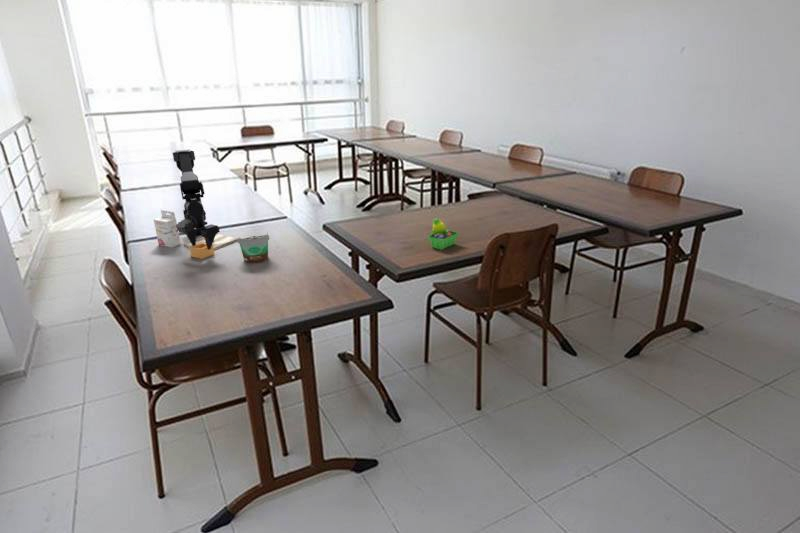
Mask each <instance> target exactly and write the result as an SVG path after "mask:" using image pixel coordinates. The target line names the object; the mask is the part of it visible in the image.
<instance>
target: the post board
mask: <svg viewBox="0 0 800 533" xmlns="http://www.w3.org/2000/svg"><path fill="white" fill-rule="evenodd" d="M202 242H203V243H206V241H205V238H204V237H202V236H201V237H198V238H196V245H197V244H200V243H202ZM236 242H238V237H234V236H233V237H232V236H227V235H224V234H219V233H218V234H216V236H215V238H214V240H213V243H212V245H213V248H214V251H215V250H217V249H220V247H221V248H223V247H225V245H226V246H229V245H231V244H234V243H236ZM183 246H185V247H188V248H190V247H191V246H192V244H191V242H190V241H187V242H184V243H183Z"/></svg>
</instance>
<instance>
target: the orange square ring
mask: <svg viewBox="0 0 800 533" xmlns="http://www.w3.org/2000/svg"><path fill="white" fill-rule="evenodd" d="M189 251H190V252H189V253H190V256H191V258H192V257H193V258H196V259H199V260H200V259H201V260H203V259H205V258H209V257H211V256H213V255H215V250H214V248H213V245H212V246H211V249H210V250H208V248H207V245H206V243H203V242H202V243H200V244H197V245H194V246H191V247H189Z"/></svg>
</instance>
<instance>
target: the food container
mask: <svg viewBox="0 0 800 533" xmlns="http://www.w3.org/2000/svg"><path fill="white" fill-rule="evenodd" d="M237 238H238V241H237V244H238V245H239V247H240V249H241V254H242V257H243V261H244V262H245V263H248V264H258V263H262V262H266V261H267V260H268V259H269V240H270V238H271V237H270V235H269V234H268V232H267V233H266V234H264V235H263V234H262V235H253V236H248V237H246V238H240V237H237Z"/></svg>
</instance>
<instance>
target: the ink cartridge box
mask: <svg viewBox="0 0 800 533" xmlns="http://www.w3.org/2000/svg"><path fill="white" fill-rule="evenodd" d="M160 213H161V214H160V215H161V216H160V217H156V218H153V223H154V228H155V233H156V236H157V237H156V238H157V242H158V246H162V245H163V246H164V247H167V246H168V247H167V248H174V247H177V246H180V245H181V244H182V243H181V238H180V233H179V231H178V229H177V228H176V225H177V224H178V222H177V218H176V214H175V212H174V211H170V210H169V211H168V210H162V209H161V210H160Z"/></svg>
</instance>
